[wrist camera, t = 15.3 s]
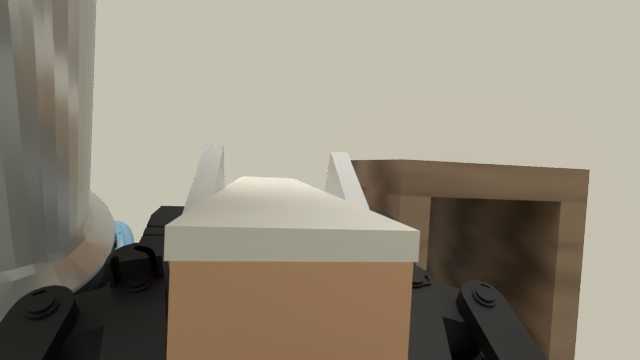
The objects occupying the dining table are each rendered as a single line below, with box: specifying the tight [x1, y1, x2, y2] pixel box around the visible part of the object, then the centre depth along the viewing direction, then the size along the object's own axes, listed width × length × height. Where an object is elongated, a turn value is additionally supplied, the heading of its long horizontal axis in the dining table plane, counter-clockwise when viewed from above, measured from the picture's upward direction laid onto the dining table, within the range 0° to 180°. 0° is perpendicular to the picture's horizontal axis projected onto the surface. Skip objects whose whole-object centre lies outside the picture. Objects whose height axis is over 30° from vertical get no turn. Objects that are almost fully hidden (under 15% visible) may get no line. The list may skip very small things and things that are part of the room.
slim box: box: [164, 176, 420, 360], centre depth 19 cm, size 26×5×4 cm, turn 10°
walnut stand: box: [351, 160, 589, 360], centre depth 31 cm, size 20×12×28 cm, turn 10°
